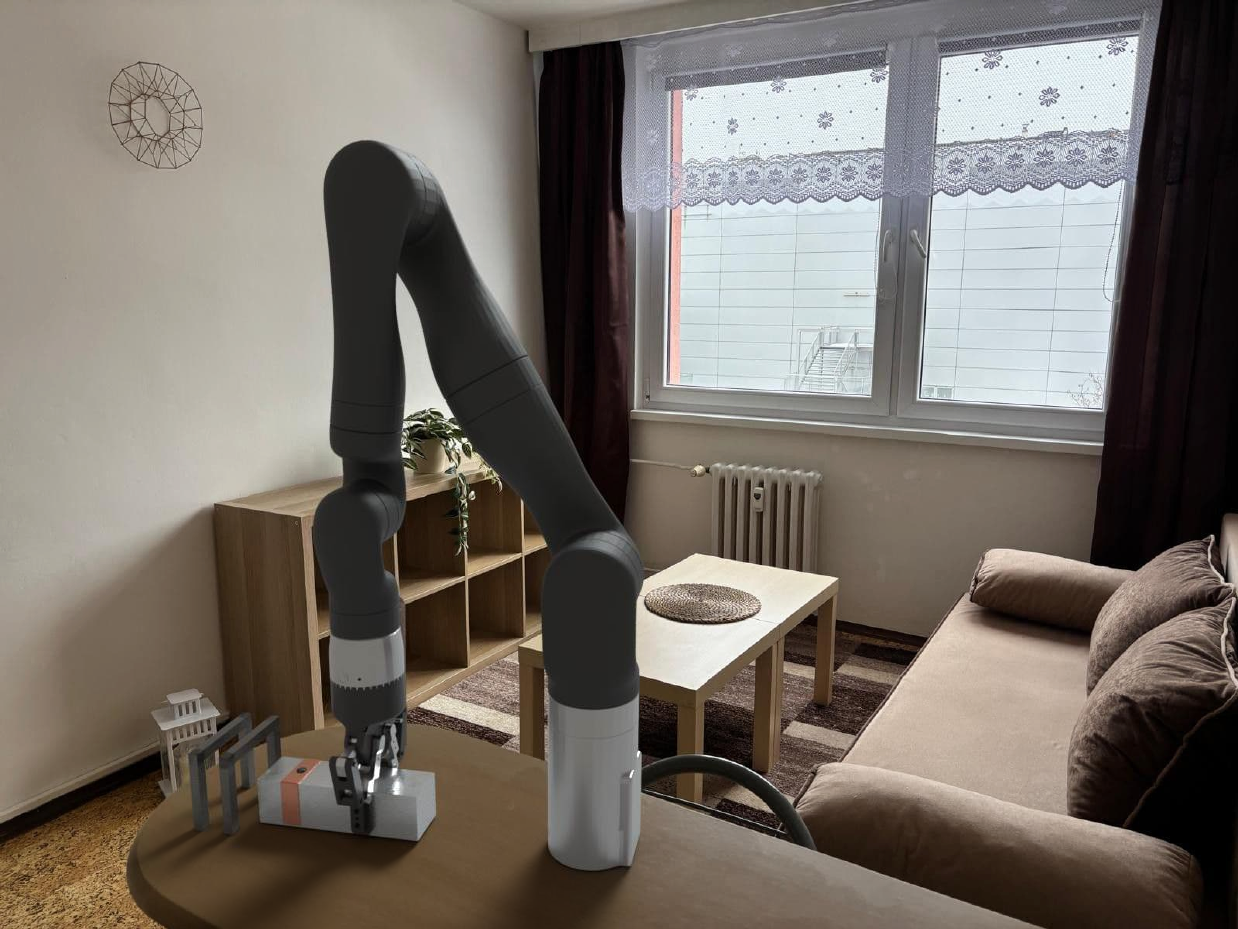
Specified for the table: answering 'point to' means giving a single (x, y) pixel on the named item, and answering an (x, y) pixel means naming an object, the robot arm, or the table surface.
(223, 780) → the collar
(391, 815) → the brushed metal post
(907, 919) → the table surface
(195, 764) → the collar
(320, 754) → the table surface
